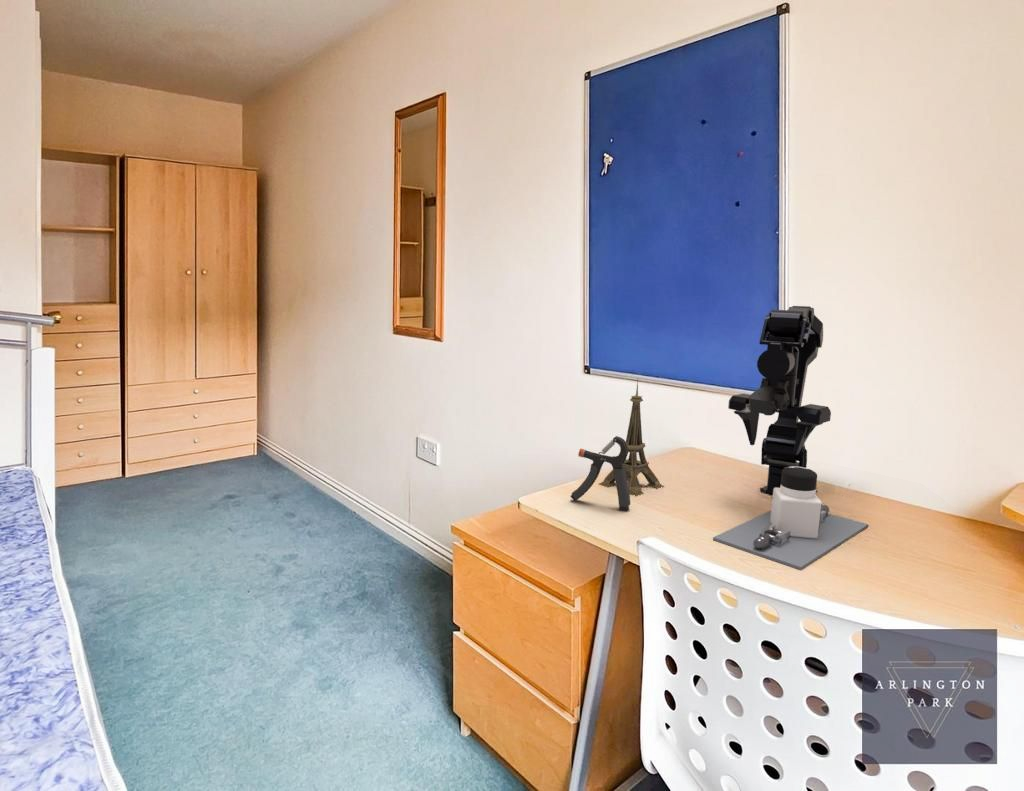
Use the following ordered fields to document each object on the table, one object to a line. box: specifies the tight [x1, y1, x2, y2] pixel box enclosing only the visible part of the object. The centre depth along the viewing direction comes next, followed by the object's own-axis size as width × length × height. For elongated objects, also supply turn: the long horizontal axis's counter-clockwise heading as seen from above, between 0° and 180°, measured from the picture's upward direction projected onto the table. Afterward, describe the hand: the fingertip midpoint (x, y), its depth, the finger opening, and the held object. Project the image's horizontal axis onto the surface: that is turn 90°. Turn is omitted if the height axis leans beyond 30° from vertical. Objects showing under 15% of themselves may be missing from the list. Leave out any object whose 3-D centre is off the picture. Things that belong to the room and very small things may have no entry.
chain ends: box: [753, 504, 830, 550], centre depth 122 cm, size 29×4×2 cm, turn 132°
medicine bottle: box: [770, 466, 823, 539], centre depth 121 cm, size 7×7×12 cm
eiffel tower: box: [598, 379, 665, 497], centre depth 146 cm, size 11×11×25 cm
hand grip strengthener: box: [570, 435, 631, 512], centre depth 133 cm, size 2×12×15 cm, turn 65°
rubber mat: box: [712, 509, 869, 571], centre depth 122 cm, size 30×16×1 cm, turn 132°
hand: (773, 449), depth 132 cm, fingers open, 9 cm apart
